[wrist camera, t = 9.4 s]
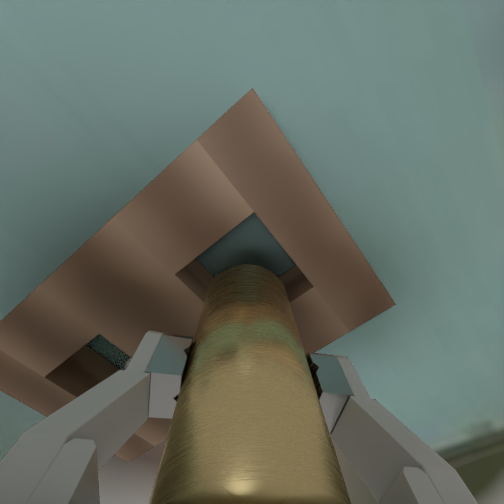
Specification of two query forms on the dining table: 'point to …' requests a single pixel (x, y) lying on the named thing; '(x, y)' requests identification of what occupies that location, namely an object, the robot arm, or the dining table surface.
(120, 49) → the dining table surface
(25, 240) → the dining table surface
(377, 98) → the dining table surface
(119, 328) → the walnut block
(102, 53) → the dining table surface
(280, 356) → the brass sleeve
